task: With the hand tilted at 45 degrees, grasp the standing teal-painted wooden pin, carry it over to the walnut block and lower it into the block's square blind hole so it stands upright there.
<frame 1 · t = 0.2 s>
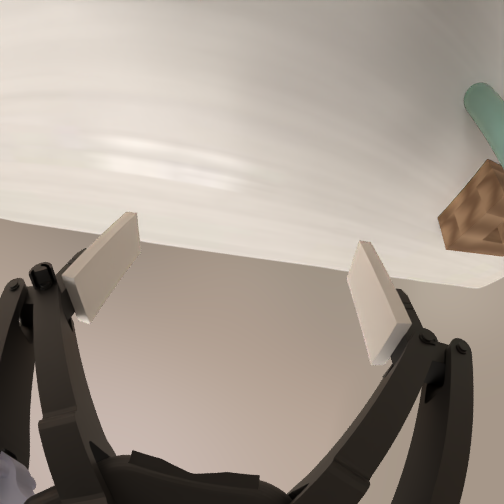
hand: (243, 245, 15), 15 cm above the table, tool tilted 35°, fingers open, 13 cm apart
socket block: (493, 201, 28), on the table
pin: (480, 100, 16), on the table
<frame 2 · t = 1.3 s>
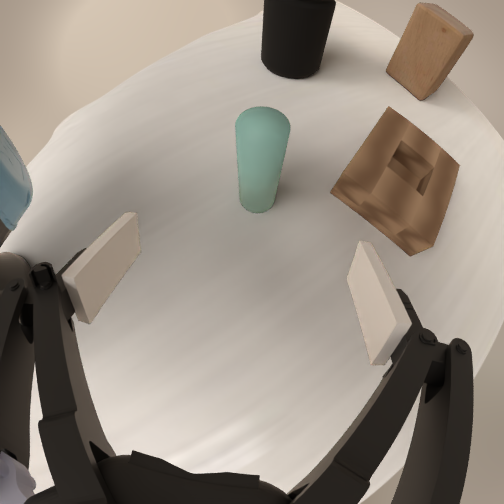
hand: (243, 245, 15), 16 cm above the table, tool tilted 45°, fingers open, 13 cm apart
socket block: (394, 184, 35), on the table
coffee jar: (289, 64, 40), on the table
wooden block: (411, 82, 41), on the table
pin: (257, 196, 34), on the table
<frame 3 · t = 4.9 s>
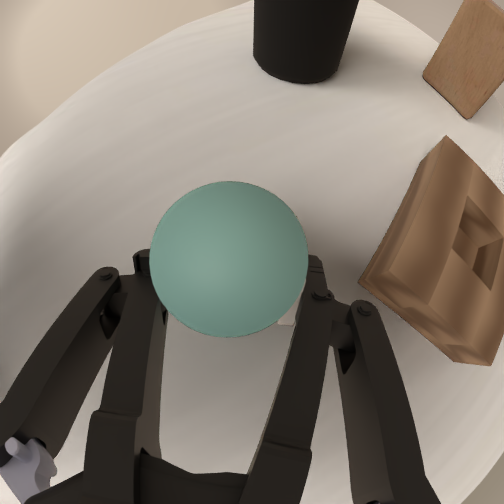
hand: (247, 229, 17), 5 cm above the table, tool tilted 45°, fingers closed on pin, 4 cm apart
socket block: (445, 256, 22), on the table
coffee jar: (295, 63, 28), on the table
wooden block: (451, 92, 29), on the table
pin: (241, 295, 21), on the table, touching gripper
when the fingers open (8 cm above the table, at t = 9.6 s): pin drops 1 cm, resting on socket block.
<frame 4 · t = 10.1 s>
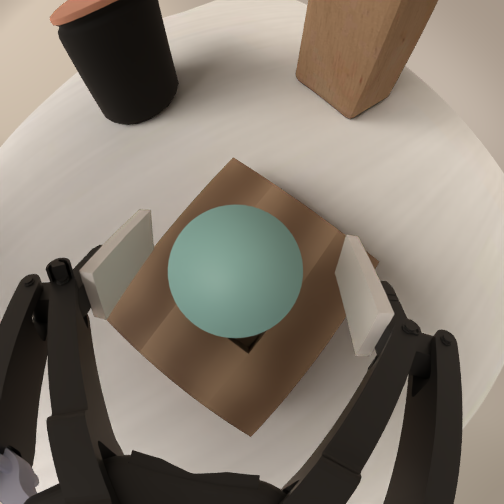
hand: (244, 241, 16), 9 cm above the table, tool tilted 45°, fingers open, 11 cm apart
socket block: (242, 298, 24), on the table
coffee jar: (142, 99, 30), on the table
wooden block: (342, 88, 31), on the table
pin: (241, 297, 22), point 2 cm above the table, touching socket block
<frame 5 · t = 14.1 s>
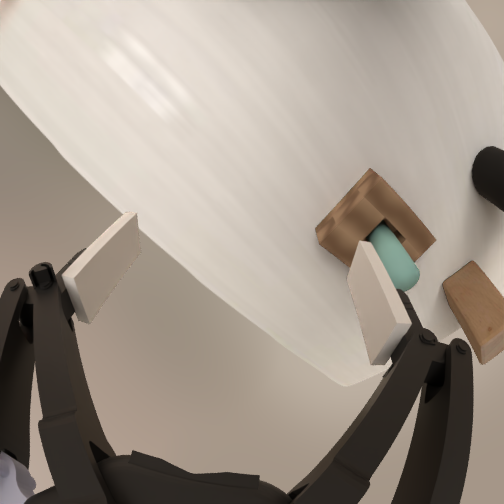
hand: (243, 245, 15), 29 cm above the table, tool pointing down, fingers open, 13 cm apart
socket block: (373, 226, 45), on the table
coffee jar: (487, 170, 36), on the table
wooden block: (460, 282, 49), on the table
pin: (375, 230, 43), point 2 cm above the table, touching socket block
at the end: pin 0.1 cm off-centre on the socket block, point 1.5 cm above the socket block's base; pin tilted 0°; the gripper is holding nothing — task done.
